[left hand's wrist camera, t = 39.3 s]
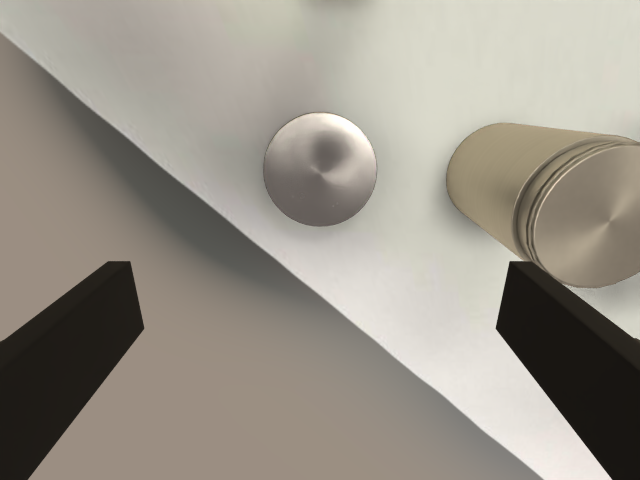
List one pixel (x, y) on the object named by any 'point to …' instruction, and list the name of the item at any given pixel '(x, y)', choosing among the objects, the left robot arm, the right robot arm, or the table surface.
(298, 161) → the lid
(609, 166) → the jar
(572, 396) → the left robot arm
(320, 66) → the table surface
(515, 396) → the table surface
